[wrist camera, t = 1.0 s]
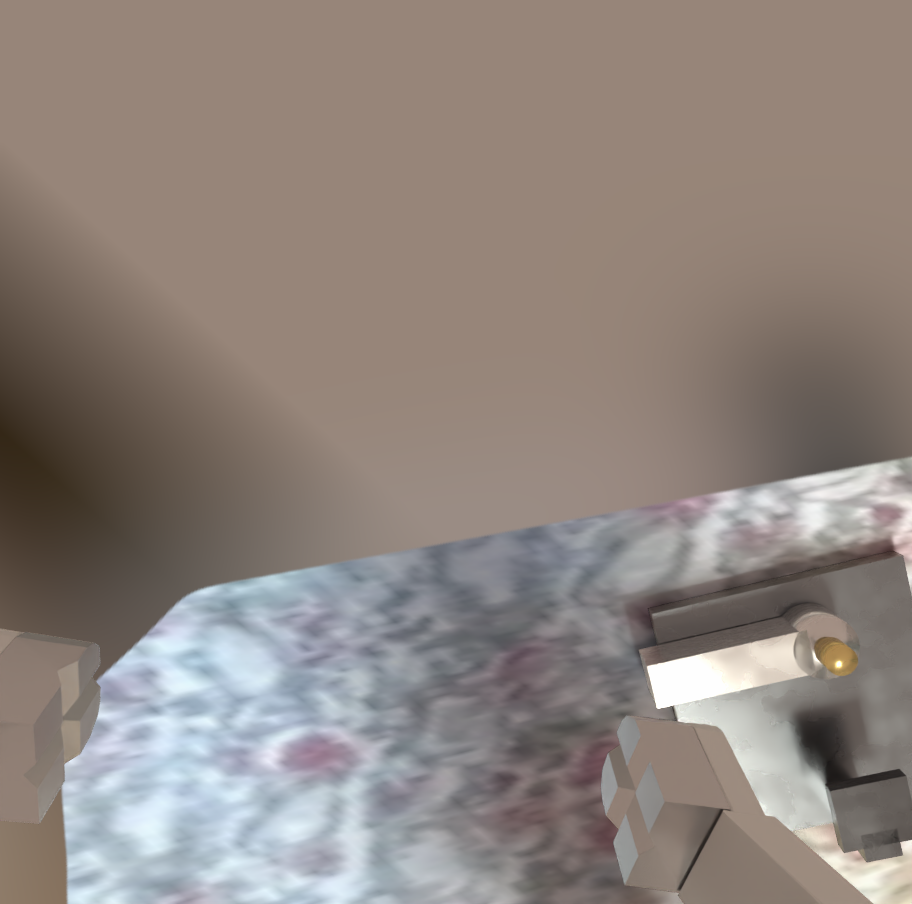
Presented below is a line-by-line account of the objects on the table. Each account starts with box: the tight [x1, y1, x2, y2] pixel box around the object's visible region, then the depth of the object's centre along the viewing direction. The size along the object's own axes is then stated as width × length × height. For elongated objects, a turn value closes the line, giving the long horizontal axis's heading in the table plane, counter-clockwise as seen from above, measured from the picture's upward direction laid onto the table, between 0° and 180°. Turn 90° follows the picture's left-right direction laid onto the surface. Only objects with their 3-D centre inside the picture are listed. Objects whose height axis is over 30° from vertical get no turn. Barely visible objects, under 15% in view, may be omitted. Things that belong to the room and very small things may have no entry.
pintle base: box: [648, 551, 912, 862], centre depth 47 cm, size 18×19×6 cm
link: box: [639, 603, 860, 708], centre depth 47 cm, size 14×4×3 cm, turn 105°
